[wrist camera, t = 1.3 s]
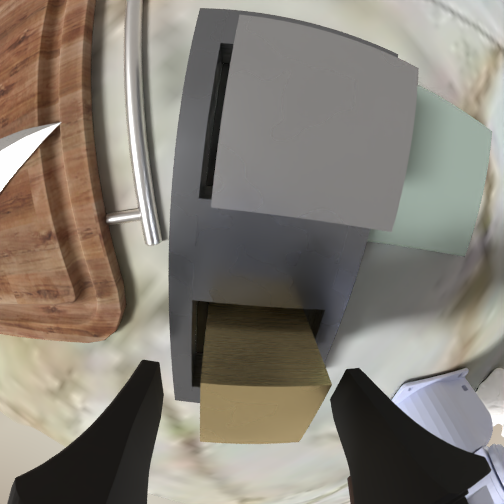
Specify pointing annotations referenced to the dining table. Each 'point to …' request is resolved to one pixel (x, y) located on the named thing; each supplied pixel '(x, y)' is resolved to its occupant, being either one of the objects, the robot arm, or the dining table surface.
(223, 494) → the dining table surface
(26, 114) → the chopping board
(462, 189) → the mat
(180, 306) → the gray slotted board
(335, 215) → the gray metal block
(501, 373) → the bust
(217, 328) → the tan wooden block
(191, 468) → the dining table surface
